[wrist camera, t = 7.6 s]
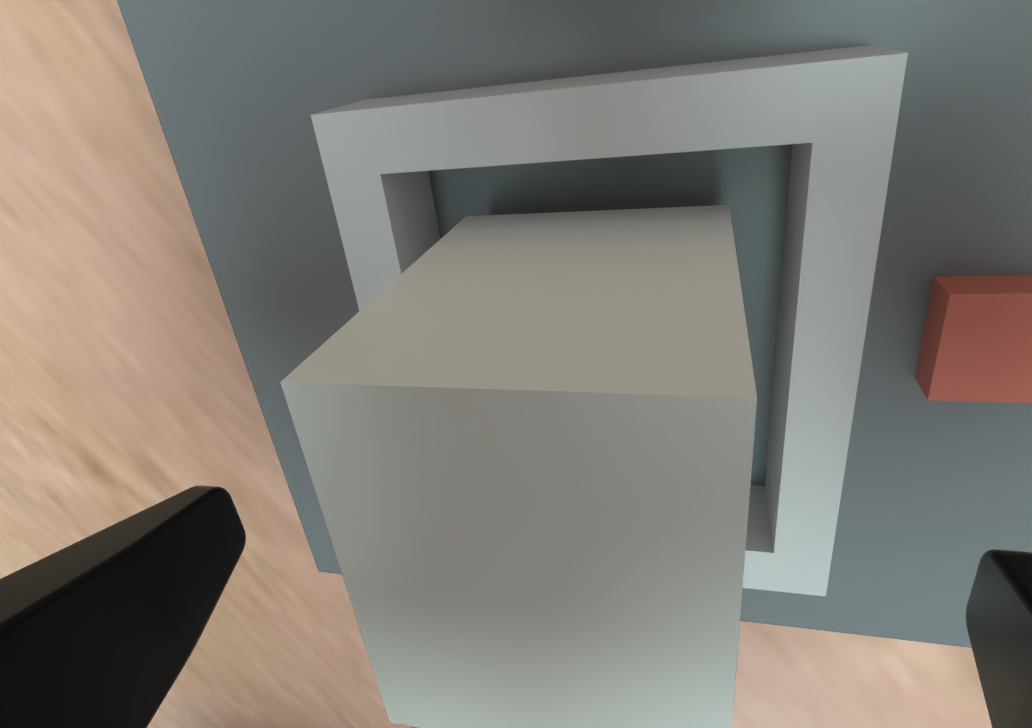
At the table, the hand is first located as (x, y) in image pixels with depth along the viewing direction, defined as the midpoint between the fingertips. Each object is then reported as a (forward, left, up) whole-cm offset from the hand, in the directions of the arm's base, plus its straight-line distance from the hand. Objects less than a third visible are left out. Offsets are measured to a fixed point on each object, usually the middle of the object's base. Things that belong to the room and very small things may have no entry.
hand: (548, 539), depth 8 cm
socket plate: (0, 0, -8) cm, 8 cm away
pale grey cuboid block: (0, 0, -6) cm, 6 cm away
